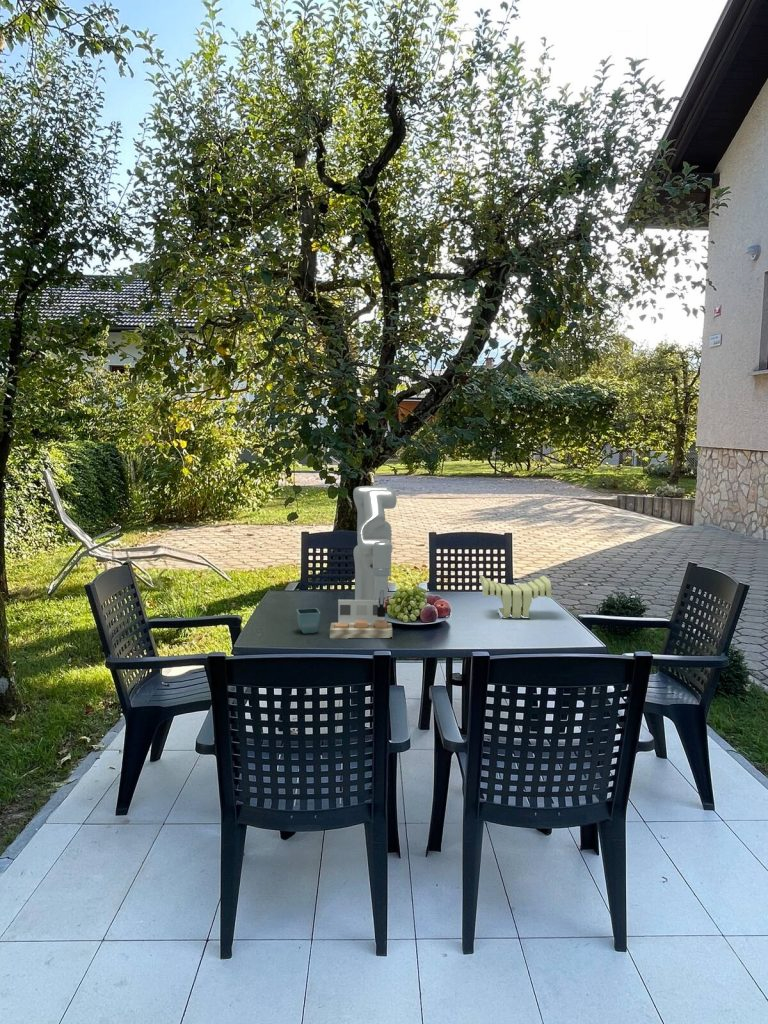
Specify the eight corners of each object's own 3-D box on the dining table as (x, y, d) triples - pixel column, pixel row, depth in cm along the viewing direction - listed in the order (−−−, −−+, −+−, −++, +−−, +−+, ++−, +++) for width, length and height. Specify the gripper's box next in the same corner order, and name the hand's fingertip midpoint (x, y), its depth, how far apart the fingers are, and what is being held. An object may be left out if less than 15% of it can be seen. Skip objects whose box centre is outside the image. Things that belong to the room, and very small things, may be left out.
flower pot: (299, 635, 293) (299, 613, 292) (295, 630, 301) (296, 609, 301) (320, 634, 295) (320, 612, 295) (316, 629, 304) (316, 608, 303)
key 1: (335, 634, 293) (335, 625, 292) (335, 631, 298) (335, 623, 297) (347, 634, 293) (347, 626, 292) (347, 631, 298) (347, 623, 297)
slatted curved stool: (483, 619, 325) (484, 580, 324) (478, 611, 341) (479, 574, 340) (550, 620, 325) (551, 581, 323) (542, 612, 341) (543, 575, 339)
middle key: (355, 631, 293) (355, 622, 292) (355, 628, 298) (355, 620, 297) (367, 631, 293) (367, 623, 292) (367, 628, 298) (367, 620, 297)
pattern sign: (337, 627, 308) (338, 601, 307) (338, 624, 313) (338, 598, 312) (384, 627, 308) (385, 601, 307) (384, 624, 313) (384, 599, 312)
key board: (329, 638, 289) (329, 629, 289) (331, 630, 301) (331, 622, 301) (392, 638, 290) (392, 630, 289) (391, 631, 302) (391, 623, 301)
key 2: (374, 631, 293) (375, 623, 293) (374, 628, 298) (374, 620, 298) (387, 631, 293) (387, 623, 293) (386, 628, 298) (387, 620, 298)
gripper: (372, 568, 301) (371, 612, 302) (372, 575, 286) (372, 620, 287) (390, 569, 301) (389, 612, 302) (391, 575, 286) (391, 620, 287)
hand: (381, 616), depth 295 cm, fingers closed
